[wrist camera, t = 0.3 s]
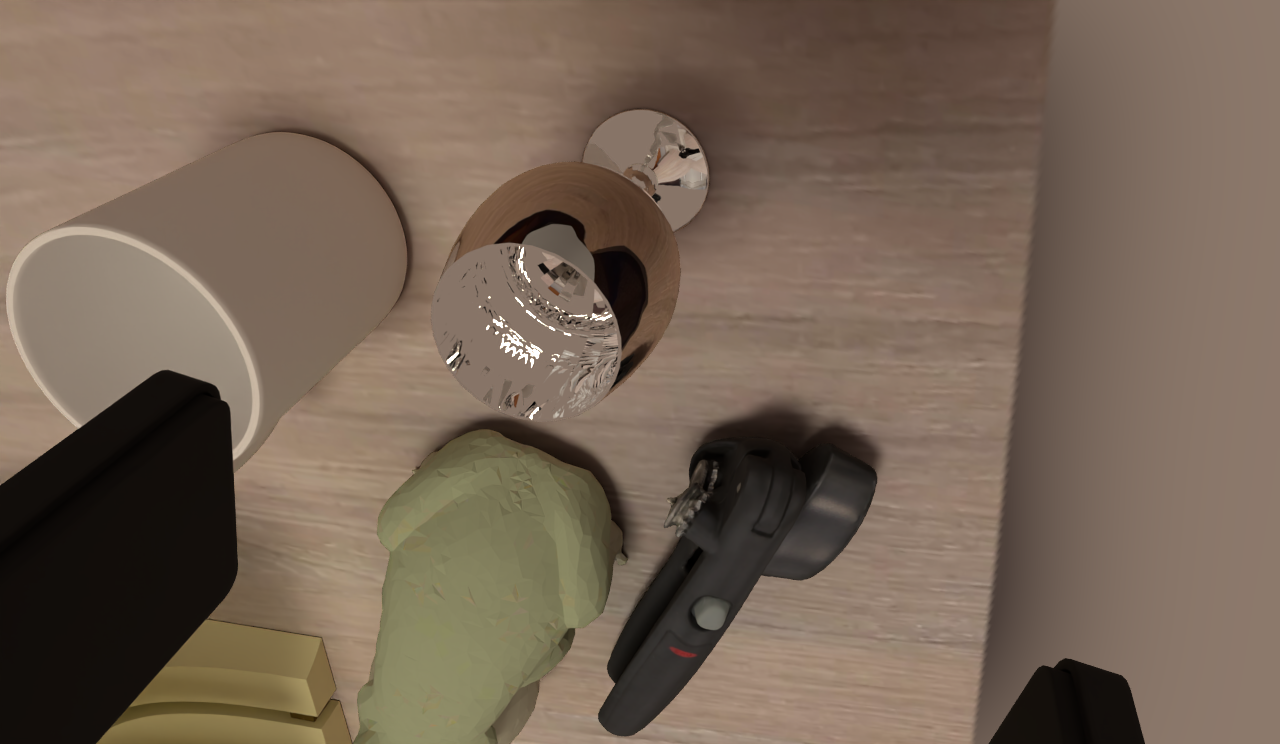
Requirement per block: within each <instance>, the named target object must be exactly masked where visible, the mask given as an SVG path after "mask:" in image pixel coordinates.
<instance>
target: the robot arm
mask: <svg viewBox="0 0 1280 744" xmlns="http://www.w3.org/2000/svg"><path fill="white" fill-rule="evenodd" d="M237 571H238V555H237V535H236V514H235V493H234V472H233V452H232V431H231V412H230V407H229V405H228V403H227V402H225V401H223V400H221V397H220V392H219V390H218V388H217V387H216V386H215V385H213V384H211V383H208V382H205V381H202V380H199V379H196V378H193V377H190V376H186V375H183V374H180V373H177V372H174V371H171V370H161V371H159V372H157V373H155V374H153V375H152V376H150V377H149V378H148V379H146V380H145V381H144V382H142V383H141V384H139V385H138V386H137V387H135V388H134V389H133V390H131V391H130V392H128V393H127V394H126V395H124V396H123V397H122V398H120V399H119V400H117V401H116V402H115V403H113V404H112V405H111V406H109V407H108V408H106V409H105V410H104V411H102V412H101V413H99V414H98V415H97V416H95V417H94V418H93V419H91V420H90V421H88V422H87V423H86V424H84V425H83V426H82V427H80V428H79V429H77V430H76V431H75V432H73V433H72V434H71V435H69V436H68V437H66V438H65V439H64V440H62V441H61V442H60V443H58V444H57V445H55V446H54V447H53V448H51V449H50V450H48V451H47V452H46V453H44V454H43V455H42V456H40V457H39V458H37V459H36V460H35V461H33V462H32V463H31V464H29V465H28V466H26V467H25V468H24V469H22V470H21V471H20V472H18V473H17V474H15V475H14V476H13V477H11V478H10V479H9V480H7V481H6V482H4V483H3V484H2V485H0V744H96V743H97V742H98V741H99V740H100V739H101V738H102V737H103V735H104V734H105V733H106V732H107V731H108V730H109V729H110V728H111V726H112V725H113V724H114V723H115V722H116V721H117V720H118V718H119V717H120V716H121V715H122V714H123V713H124V712H125V711H126V709H127V708H128V707H129V706H130V705H131V704H132V703H133V701H134V700H135V699H136V698H137V697H138V696H139V695H140V694H141V692H142V691H143V690H144V689H145V688H146V687H147V686H148V684H149V683H150V682H151V681H152V680H153V679H154V678H155V677H156V675H157V674H158V673H159V672H160V671H161V670H162V669H163V667H164V666H165V665H166V664H167V663H168V662H169V661H170V660H171V658H172V657H173V656H174V655H175V654H176V653H177V652H178V650H179V649H180V648H181V647H182V646H183V645H184V644H185V643H186V641H187V640H188V639H189V638H190V637H191V636H192V635H193V633H194V632H195V631H196V630H197V629H198V628H199V627H200V626H201V624H202V623H203V622H204V621H205V620H206V619H207V618H208V616H209V615H210V614H211V613H212V612H213V611H214V610H215V609H216V607H217V606H218V605H219V604H220V603H221V602H222V601H223V600H224V598H225V597H226V596H227V594H228V593H229V591H230V590H231V588H232V586H233V584H234V581H235V579H236V575H237ZM989 744H1145V742H1144V738H1143V735H1142V731H1141V727H1140V724H1139V720H1138V716H1137V712H1136V708H1135V705H1134V701H1133V697H1132V693H1131V690H1130V687H1129V685H1128V682H1127V680H1126V679H1125V678H1124V677H1123V676H1122V675H1119V674H1115V673H1112V672H1109V671H1106V670H1103V669H1100V668H1096V667H1094V666H1091V665H1087V664H1084V663H1081V662H1078V661H1075V660H1072V659H1067V658H1065V659H1063V660H1061V661H1059V662H1058V664H1057V665H1056V666H1055V667H1054V668H1051V667H1048V666H1041V667H1039V668H1038V669H1037V670H1036V672H1035V673H1034V675H1033V676H1032V678H1031V679H1030V681H1029V682H1028V684H1027V685H1026V687H1025V688H1024V690H1023V691H1022V693H1021V695H1020V696H1019V698H1018V699H1017V701H1016V702H1015V704H1014V705H1013V707H1012V708H1011V710H1010V712H1009V713H1008V715H1007V716H1006V718H1005V719H1004V721H1003V722H1002V724H1001V726H1000V727H999V729H998V730H997V732H996V733H995V735H994V736H993V738H992V739H991V741H990V742H989Z"/></svg>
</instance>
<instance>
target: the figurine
mask: <svg viewBox="0 0 1280 744" xmlns="http://www.w3.org/2000/svg"><path fill="white" fill-rule="evenodd" d="M412 472H413V474H414V475H413V476H412V477H410V478H409V479H408V480H407V481H406V482H405V483H404V484H403V485H402V486H401V487H400V488H399V489H398V490H397V491H396V492H395V493H394V494H393V495H392V496H391V497H390V498H389V500H388V501H387V502H386V503H385V505H384V507H383V508H382V510H381V512H380V514H379V517H378V527H377V535H378V537H379V539H380V541H381V543H382V544H383V545H384V546H385V547H386V548H387V549H388V550H389V551H390V552H391V553H390V558H389V563H388V567H387V572H386V578H385V581H384V585H383V588H382V610H383V611H382V615H381V621H380V631H379V634H378V638H377V643H376V654H375V657H374V659H373V662H372V665H371V671H370V676H369V682H368V683H366V684H365V685H364V686H363V687H362V688H361V690H360V691H359V693H358V698H357V704H358V713H359V721H360V729H359V732H358V735H357V737H356V739H355V741H354V742H353V744H510V743H511V742H512V741H513V740H514V739H515V737H516V736H517V735H518V734H519V733H520V732H521V730H522V729H523V727H524V725H525V724H526V722H527V721H528V719H529V717H530V716H531V714H532V712H533V710H534V708H535V704H536V700H537V697H538V693H539V684H540V679H541V678H542V677H543V676H544V675H546V674H547V673H548V672H549V671H550V670H552V669H553V668H554V667H555V666H556V665H557V664H558V663H559V662H560V661H561V660H562V659H563V657H564V656H565V655H566V653H567V652H568V651H569V649H570V648H571V645H572V642H573V638H574V635H575V628H584V627H586V626H587V625H588V624H590V623H591V622H592V621H593V620H595V619H596V618H597V617H598V616H599V615H601V614H602V613H603V610H604V607H605V604H606V601H607V598H608V594H609V591H610V586H611V581H612V575H613V563H614V560H615V559H616V560H617V562H618V564H619V565H624V564H625V563H627V560H628V559H627V558H626V557H625V556H624V555H623V554H622V553H621V549H622V544H623V533H622V531H621V530H620V528H619V527H618V526H617V525H616V523H615V522H614V521H611V511H610V505H609V503H608V500H607V497H606V495H605V492H604V490H603V488H602V486H601V485H600V483H599V482H598V481H597V479H596V478H595V477H594V476H593V474H592V473H591V472H590V471H588V470H585V469H582V468H579V467H576V466H573V465H570V464H567V463H564V462H562V461H560V460H558V459H556V458H554V457H553V456H551V455H549V454H547V453H545V452H543V451H541V450H539V449H537V448H534V447H532V446H528V445H523V444H520V443H518V442H515V441H513V440H510V439H508V438H505V437H504V436H503V435H502V434H500V433H499V432H496V431H493V430H488V429H481V430H476V431H471V432H468V433H466V434H464V435H462V436H460V437H458V438H456V439H453V440H451V441H450V442H448V443H447V444H446V445H445V446H444V447H443V448H442V449H441V450H440V451H437V452H432V453H431V454H430V455H429V456H428V457H427V458H426V459H425V460H424V461H423V462H422V464H421V467H420V468H419V469H417V470H412Z"/></svg>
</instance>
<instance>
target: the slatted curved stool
mask: <svg viewBox="0 0 1280 744" xmlns="http://www.w3.org/2000/svg"><path fill="white" fill-rule="evenodd" d="M335 690H336V687H335V683H334V680H333V676H332V673H331V669H330V666H329V663H328V659H327V656H326V652H325V649H324V645H323V642H322V638H318V637H312V636H306V635H300V634H293V633H287V632H281V631H275V630H269V629H263V628H256V627H250V626H244V625H238V624H232V623H226V622H219V621H213V620H207V619H206V620H205V621H204V622H203V623H202V624H201V626H200V627H199V628H198V629H197V630H196V631H195V632H194V633H193V635H192V636H191V637H190V638H189V639H188V640H187V641H186V643H185V644H184V645H183V646H182V647H181V648H180V649H179V650H178V652H177V653H176V654H175V655H174V656H173V657H172V658H171V660H170V661H169V662H168V663H167V664H166V665H165V666H164V667H163V669H162V670H161V671H160V672H159V673H158V674H157V675H156V677H155V678H154V679H153V680H152V681H151V682H150V683H149V684H148V686H147V687H146V688H145V689H144V690H143V691H142V692H141V694H140V695H139V696H138V697H137V698H136V699H135V700H134V701H133V703H132V704H131V705H130V706H129V707H128V708H127V709H126V711H125V712H124V713H123V714H122V715H121V716H120V717H119V718H118V720H117V721H116V722H115V723H114V724H113V725H112V726H111V728H110V729H109V730H108V731H107V732H106V733H105V734H104V735H103V737H102V738H101V739H100V740H99V741H98V742H97V743H96V744H352V742H351V739H350V735H349V732H348V728H347V725H346V721H345V718H344V714H343V711H342V708H341V704H340V701H336V700H330V698H331V696H332V695H333V693H334V692H335Z"/></svg>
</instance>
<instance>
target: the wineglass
mask: <svg viewBox="0 0 1280 744" xmlns="http://www.w3.org/2000/svg"><path fill="white" fill-rule="evenodd" d="M709 184H710V176H709V165H708V161H707V158H706V154H705V152H704V150H703V148H702V146H701V144H700V142H699V140H698V139H697V138H696V137H695V135H694V134H693V133H692V132H691V131H690V129H689V128H688V127H686V126H685V125H684V124H683V123H681V122H680V121H679V120H677V119H676V118H674V117H672V116H670V115H668V114H665V113H663V112H659V111H655V110H651V109H632V110H626V111H623V112H620V113H617V114H615V115H613V116H611V117H609V118H608V119H606V120H605V121H603V122H602V123H601V124H600V125H599V126H598V127H597V128H596V130H595V131H594V132H593V134H592V135H591V137H590V138H589V140H588V142H587V144H586V147H585V150H584V152H583V158H582V162H576V161H574V162H558V163H552V164H547V165H542V166H539V167H536V168H534V169H531V170H528V171H526V172H524V173H522V174H520V175H518V176H516V177H514V178H512V179H511V180H509V181H507V182H506V183H504V184H503V185H501V186H500V187H499V188H498V189H497V190H496V191H495V192H494V193H492V194H491V195H490V196H489V197H488V198H487V199H486V200H485V201H484V202H483V203H482V204H481V205H480V206H479V207H478V208H477V210H476V211H475V212H474V214H473V215H472V216H471V217H470V219H469V220H468V221H467V223H466V225H465V226H464V228H463V229H462V231H461V233H460V234H459V236H458V238H457V240H456V241H455V243H454V245H453V247H452V249H451V252H450V254H449V257H448V259H447V262H446V264H445V267H444V269H443V272H442V274H441V277H440V280H439V282H438V285H437V287H436V290H435V292H434V296H433V301H432V306H431V323H432V330H433V336H434V339H435V342H436V345H437V348H438V351H439V353H440V355H441V357H442V359H443V361H444V362H445V364H446V366H447V368H448V370H449V371H450V372H451V373H452V374H453V376H454V377H455V378H456V379H457V381H458V382H459V383H460V384H461V385H462V386H463V387H464V388H465V389H466V390H467V391H468V392H470V393H471V394H472V395H473V396H474V397H475V398H476V399H478V400H479V401H481V402H483V403H484V404H486V405H488V406H489V407H491V408H493V409H494V410H496V411H499V412H501V413H504V414H507V415H510V416H512V417H515V418H518V419H524V420H530V421H536V422H546V421H560V420H564V419H567V418H571V417H574V416H578V415H580V414H582V413H583V412H585V411H587V410H588V409H590V408H592V407H593V406H595V405H597V404H598V403H599V402H600V401H602V400H603V399H604V398H606V397H607V396H608V395H609V394H610V393H612V392H613V391H614V390H615V389H617V388H618V387H619V386H620V385H622V384H623V383H624V382H625V381H626V380H627V379H628V378H630V377H631V376H632V375H633V373H634V372H635V371H636V370H637V369H638V368H639V367H640V366H641V365H642V364H643V363H644V361H645V360H646V359H647V358H648V357H649V355H650V354H651V353H652V351H653V350H654V348H655V347H656V346H657V344H658V343H659V341H660V340H661V338H662V337H663V335H664V333H665V331H666V329H667V327H668V325H669V323H670V321H671V319H672V316H673V313H674V310H675V307H676V303H677V298H678V294H679V287H680V276H681V268H680V255H679V250H678V245H677V242H676V239H675V236H674V232H677V231H679V230H680V229H682V228H684V227H685V226H687V225H688V224H689V223H690V222H691V221H692V220H693V219H694V218H695V216H696V215H697V214H698V213H699V212H700V210H701V208H702V206H703V204H704V202H705V200H706V198H707V194H708V189H709Z"/></svg>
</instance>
